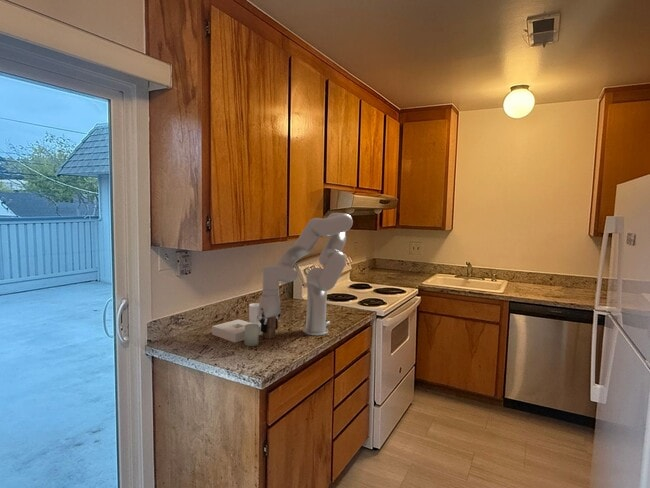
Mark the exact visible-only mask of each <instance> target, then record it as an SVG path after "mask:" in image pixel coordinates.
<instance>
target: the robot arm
mask: <svg viewBox="0 0 650 488" xmlns="http://www.w3.org/2000/svg"><path fill="white" fill-rule="evenodd" d="M353 223H354V220H353V217H352V216H351V215H350V214H348V213H345V212H344V213H343V212H332V213H330V214H329V215H328V216H327V217H324V218H320V217H314V218H311V219H309V221H308V222H307V224H306V225H305V227H304V228H303V230H302V232H301V233H300V234H299V236H298V238H297V239H296V241H295V242H294V243H293V244H292V245H291V246H290V247H289V248H288V249H287V250H286V251H285V252H284V253H283V255H282V256H281V258H280V259H279V261H278V262H277V265H274V264H273V265H271V264H269V265H264V267H263V269H262V295H261V296H260V299H259V302H258V303H259V314H258V315H257V319H258V320H259V322H260V323H261V325H260V326H261V332H262V333H263V332H264V333H266V332H267V324H266V322H267V319H268V318H269V317H273V316H276V330H278V329H279V327H278V325H279V324H278V323H279V321H280V317H281V315H282V313H283V310H282V309H281V297H280V282H284V283H291V282H294V281H296V279H297V278H298V275H299V274H298V271H297V270H298V269H296V268H295V267H294V265H295V264H296V262H297V261H299V259H302V258H303V257H305V256H307V255H309V254H310V253H311V252H312V251H313V249H314V247H315V246H316V244H317V243H318V241H319V240H320V238H321V237H322V238H325V237H328V240H327V241H326V243H325V245H324V247H323V249H322V251H321V252H320V255H319V256H318V262H319V264H320V265H321V266H322V267H323V268H321V267H313V268H310V270H309V271H308V272H307V274H306V289H307V290H306V291H307V293H306V294H307V295H306V296H307V298H306V319H305V320H306V321H305V326H304V327H303V328H302V332H303V334H305V335H308V336H324V335H327V334H328V333H329V329H328V328H327V326H329V325H331V321H330V320H327V319H326V318H327V300H328V299H327V298H328V295H327V294H328V293H327V292H329V291H331V290H332V289H333V288H334V287H335V286H336V284H337V282H338V280H339V279H340V277H341V274H342V273H343V271H344V269H345V267H346V263H347V257H346V255H345V254H344V252H343V249H344V247H345V245H346V243H347V233H346V232H347V231H350V229H351V228H352V226H353ZM264 318H265V320H264ZM326 320H327V321H326Z"/></svg>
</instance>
